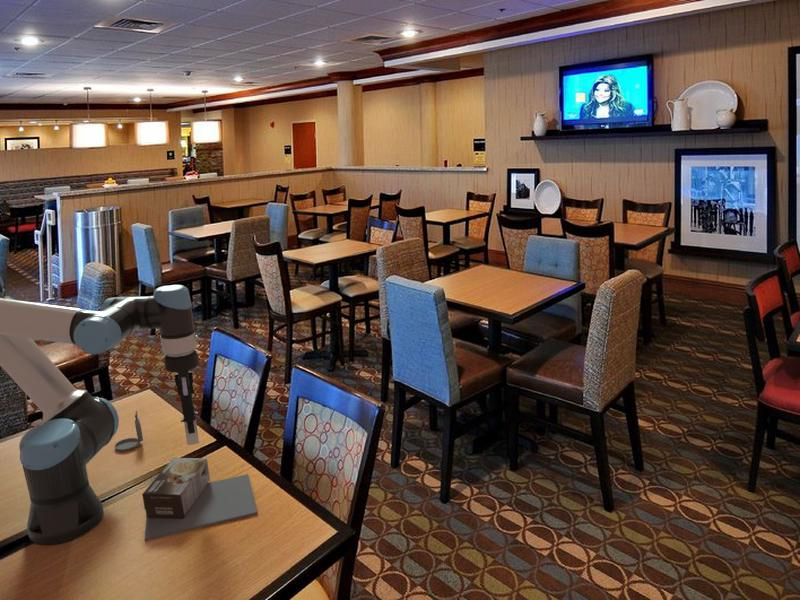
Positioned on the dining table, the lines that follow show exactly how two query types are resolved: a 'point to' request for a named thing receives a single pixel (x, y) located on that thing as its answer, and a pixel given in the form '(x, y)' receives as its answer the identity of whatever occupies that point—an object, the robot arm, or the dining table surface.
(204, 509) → the mat
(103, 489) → the dining table surface
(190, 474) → the coffee box
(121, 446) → the pocket watch
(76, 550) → the dining table surface
